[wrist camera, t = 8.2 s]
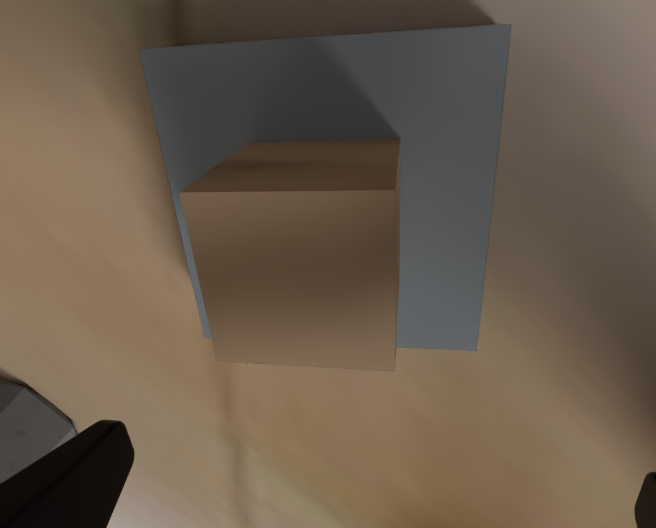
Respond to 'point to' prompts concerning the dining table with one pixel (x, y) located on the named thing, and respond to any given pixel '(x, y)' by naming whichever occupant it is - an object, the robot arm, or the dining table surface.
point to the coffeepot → (28, 428)
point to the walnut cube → (300, 252)
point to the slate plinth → (352, 124)
